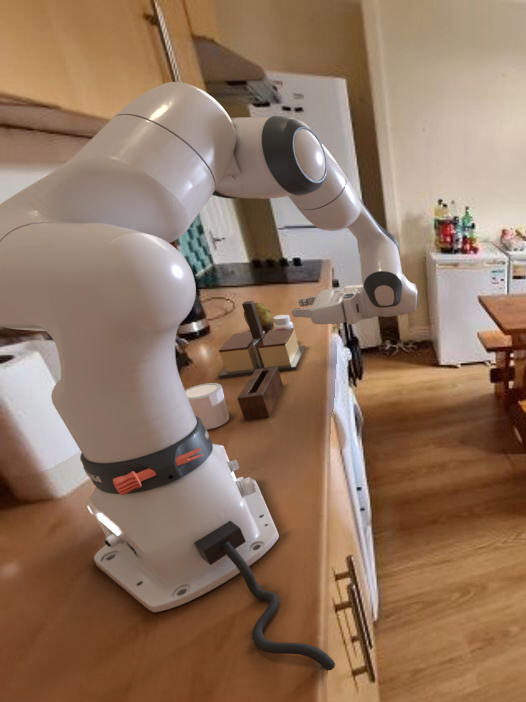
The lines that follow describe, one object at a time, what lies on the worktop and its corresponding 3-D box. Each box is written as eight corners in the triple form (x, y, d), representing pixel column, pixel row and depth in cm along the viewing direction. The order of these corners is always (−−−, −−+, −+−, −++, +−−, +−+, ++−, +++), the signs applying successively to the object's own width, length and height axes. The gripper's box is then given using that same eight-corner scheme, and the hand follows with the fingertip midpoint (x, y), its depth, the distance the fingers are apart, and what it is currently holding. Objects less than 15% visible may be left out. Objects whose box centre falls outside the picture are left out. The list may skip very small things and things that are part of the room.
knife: (264, 366, 103) (246, 307, 97) (256, 367, 103) (237, 308, 96) (273, 351, 112) (257, 296, 105) (265, 352, 112) (248, 297, 105)
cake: (296, 369, 103) (289, 344, 100) (219, 378, 99) (209, 353, 96) (305, 348, 116) (299, 325, 113) (237, 355, 112) (229, 332, 109)
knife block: (269, 416, 83) (262, 394, 81) (244, 420, 82) (236, 398, 80) (283, 386, 95) (277, 366, 93) (262, 389, 94) (255, 369, 92)
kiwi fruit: (244, 338, 124) (236, 312, 120) (249, 326, 134) (242, 301, 131) (275, 334, 127) (268, 309, 123) (278, 322, 137) (271, 298, 134)
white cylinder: (213, 433, 78) (199, 400, 75) (182, 429, 79) (168, 397, 76) (241, 414, 84) (230, 383, 81) (212, 411, 85) (200, 381, 82)
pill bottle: (281, 349, 116) (273, 320, 112) (277, 344, 119) (269, 316, 115) (300, 345, 118) (292, 316, 114) (295, 340, 121) (288, 313, 118)
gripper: (354, 281, 115) (299, 285, 112) (349, 300, 97) (284, 306, 94) (358, 304, 118) (305, 308, 114) (354, 326, 100) (292, 332, 97)
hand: (296, 307), depth 104 cm, fingers open, 8 cm apart
